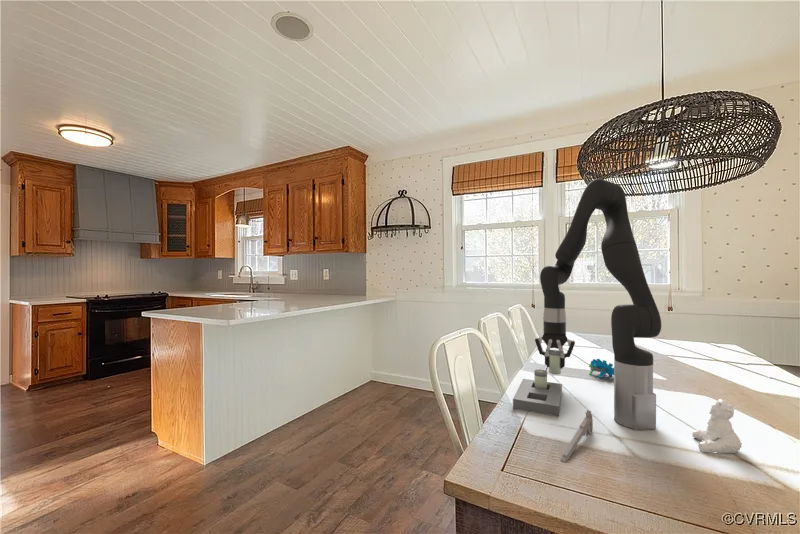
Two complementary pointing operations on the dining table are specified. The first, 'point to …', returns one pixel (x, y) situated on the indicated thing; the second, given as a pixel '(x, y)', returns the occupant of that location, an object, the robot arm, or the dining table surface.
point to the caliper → (579, 435)
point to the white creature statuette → (719, 431)
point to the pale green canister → (554, 362)
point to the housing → (538, 395)
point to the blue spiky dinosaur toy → (601, 367)
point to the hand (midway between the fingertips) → (554, 367)
